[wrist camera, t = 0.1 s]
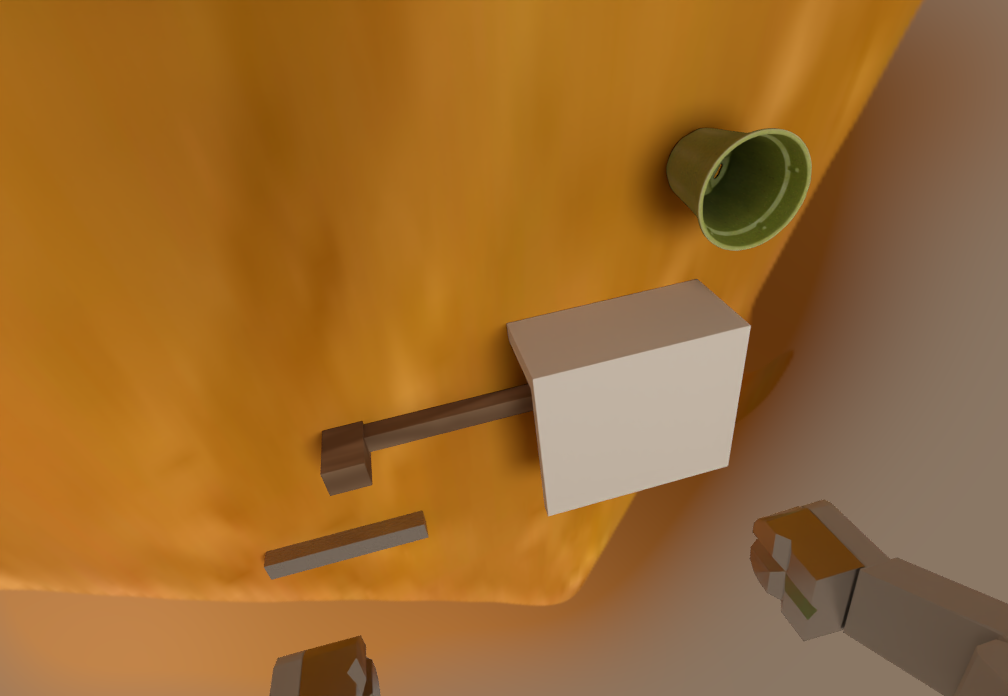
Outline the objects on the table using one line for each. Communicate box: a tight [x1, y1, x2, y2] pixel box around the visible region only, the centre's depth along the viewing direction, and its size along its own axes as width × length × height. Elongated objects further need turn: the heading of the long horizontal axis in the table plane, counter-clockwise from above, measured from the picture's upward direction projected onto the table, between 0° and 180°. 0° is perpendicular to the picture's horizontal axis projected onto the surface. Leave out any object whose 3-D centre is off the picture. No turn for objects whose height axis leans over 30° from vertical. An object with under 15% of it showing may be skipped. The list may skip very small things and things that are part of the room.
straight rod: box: [264, 511, 428, 580], centre depth 65 cm, size 2×18×2 cm, turn 96°
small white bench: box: [507, 279, 751, 516], centre depth 57 cm, size 18×20×9 cm
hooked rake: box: [321, 384, 533, 496], centre depth 56 cm, size 11×32×6 cm, turn 97°
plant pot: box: [666, 128, 812, 251], centre depth 46 cm, size 9×9×9 cm
